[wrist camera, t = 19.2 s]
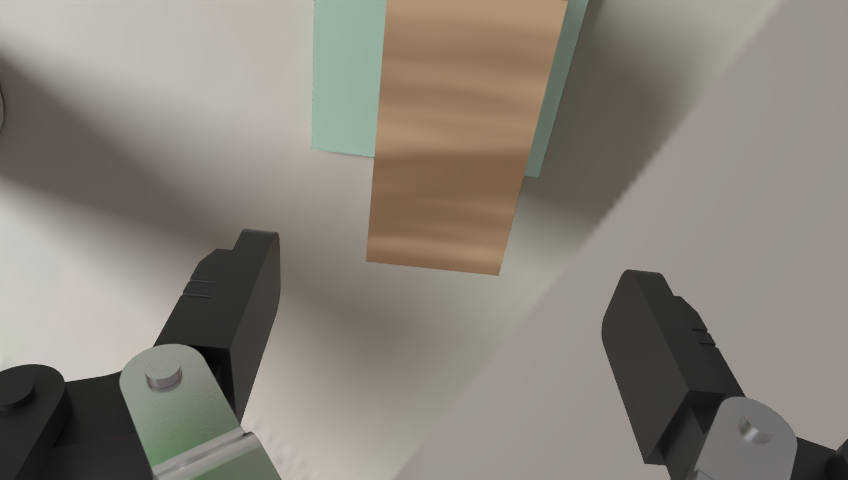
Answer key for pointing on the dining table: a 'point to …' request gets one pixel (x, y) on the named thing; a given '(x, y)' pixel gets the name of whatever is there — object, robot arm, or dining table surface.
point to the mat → (361, 72)
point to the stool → (456, 127)
